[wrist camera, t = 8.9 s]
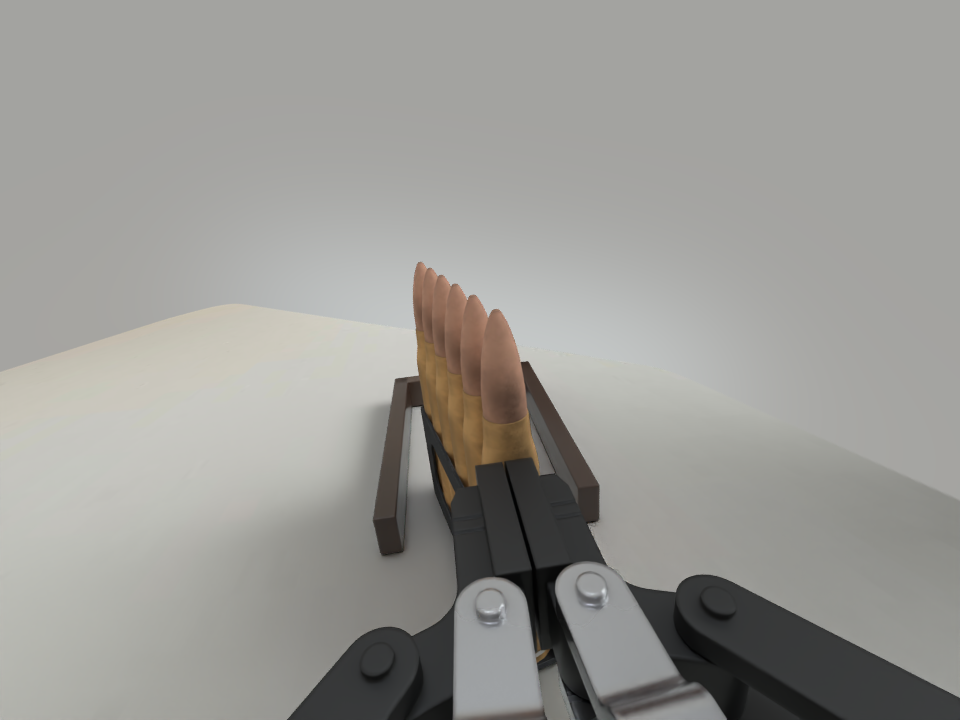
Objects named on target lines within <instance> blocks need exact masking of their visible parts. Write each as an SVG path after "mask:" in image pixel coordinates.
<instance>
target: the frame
mask: <svg viewBox="0 0 960 720" xmlns="http://www.w3.org/2000/svg"><path fill="white" fill-rule="evenodd" d="M521 367H522V372H523V377H524V383H525V390H526V401H527V409H528V411H529V413H530V416H531V418H532V420H533V422H534V425H535V427H536V429H537V431H538V433H539V436H540V438H541V440H542V442H543V445H544V447H545V449H546V451H547V453H548V456H549V458H550V460H551V462H552V465H553V467H554V469H555V471H556V473H557V476H558V477H560V478H561V479H562V480H563V481H564V482H566V483H567V484H568V485H569V487H570V489H571V491H572V493H573V495H574V498H575V501H576V502H577V504H578V506H579V508H580V510H581V514H582V515H583V517H584V519H585V521H586V522H590V521H596V520H599V484H598V482H597V480H596V479H595V477H594V475H593V473H592V472H591V470H590V468H589V466H588V465H587V463H586V461H585V460H584V458H583V456H582V454H581V453H580V451H579V449H578V447H577V446H576V444H575V442H574V440H573V439H572V437H571V435H570V433H569V432H568V430H567V428H566V426H565V425H564V423H563V421H562V419H561V418H560V416H559V414H558V412H557V411H556V409H555V407H554V405H553V404H552V402H551V400H550V399H549V397H548V395H547V393H546V392H545V390H544V388H543V386H542V385H541V383H540V381H539V379H538V378H537V376H536V374H535V372H534V371H533V369H532V367H531V365H530V364H529V362H528V361H526V362H521ZM419 405H424V402H423V396H422V390H421V384H420V378H419V376H413V377H405V378H398V379H395V383H394V390H393V396H392V402H391V409H390V415H389V421H388V428H387V434H386V440H385V447H384V453H383V459H382V466H381V472H380V478H379V485H378V491H377V497H376V504H375V510H374V516H373V523H374V527H375V531H376V536H377V540H378V544H379V548H380V553H381V554H389V553H395V552H401V551H403V543H404V527H405V511H406V495H407V479H408V463H409V447H410V431H411V416H412V406H419Z"/></svg>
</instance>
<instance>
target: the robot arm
mask: <svg viewBox="0 0 960 720" xmlns="http://www.w3.org/2000/svg"><path fill="white" fill-rule="evenodd" d="M475 473H476V481H477V485H476V486H469V487H462V488H458V489H457V491H456V493H455V495H454V497H453V499H452V501H451V513H452V525H453V538H454V550H455V562H456V574H457V596H456V599H455V602H454V604H453V606H452V608H451V609H450V610H449V612H448V613H447V614H446V615H445V616H444V617H443V618H442V619H441V620H440V621H439V622H437V623H436V624H434V625H433V626H431V627H429V628H427V629H425V630H423V631H421V632H419V633H417V634H416V635H414V636H411V635H410V634H409V633H407V632H406V631H404V630H402V629H400V628H395V627H382V628H378V629H374V630H372V631H370V632H367V633H366V634H364V635H363V636H361V637H360V638H358V639H357V640H356V641H355V642H354V643H353V644H352V645H351V646H350V647H349V648H348V649H347V651H346V652H345V653H344V654H343V655H342V656H341V658H340V659H339V660H338V661H337V662H336V663H335V665H334V666H333V667H332V668H331V669H330V670H329V672H328V673H327V674H326V675H325V676H324V677H323V679H322V680H321V681H320V682H319V683H318V684H317V686H316V687H315V688H314V689H313V690H312V691H311V693H310V694H309V695H308V696H307V697H306V698H305V700H304V701H303V702H302V703H301V704H300V705H299V707H298V708H297V709H296V710H295V711H294V712H293V714H292V715H291V716H290V717H289V718H288V719H287V720H547V717H546V716H545V712H544V707H543V700H542V694H541V688H540V681H539V675H538V669H537V662H536V656H535V652H537V638H536V632H537V636H538V640H539V644H540V648H541V651H542V650H548V649H553V650H554V654H555V658H556V661H557V665H558V673H559V687H560V691H561V694H562V697H563V700H564V703H565V705H566V708H567V711H568V714H569V717H570V720H960V698H959V697H957V696H955V695H953V694H951V693H949V692H947V691H945V690H943V689H941V688H939V687H937V686H935V685H933V684H931V683H929V682H927V681H925V680H923V679H921V678H919V677H917V676H916V675H914V674H912V673H910V672H908V671H906V670H904V669H902V668H900V667H898V666H896V665H894V664H892V663H890V662H888V661H886V660H884V659H882V658H880V657H878V656H876V655H874V654H872V653H870V652H868V651H866V650H864V649H862V648H860V647H859V646H857V645H855V644H853V643H851V642H849V641H847V640H845V639H843V638H841V637H839V636H837V635H835V634H833V633H831V632H829V631H827V630H825V629H823V628H821V627H819V626H817V625H815V624H813V623H811V622H809V621H807V620H805V619H803V618H802V617H800V616H798V615H796V614H794V613H792V612H790V611H788V610H786V609H784V608H782V607H780V606H778V605H776V604H774V603H772V602H770V601H768V600H766V599H764V598H762V597H760V596H758V595H756V594H754V593H752V592H750V591H748V590H746V589H745V588H743V587H741V586H739V585H737V584H735V583H733V582H731V581H728V580H726V579H724V578H721V577H717V576H713V575H695V576H691V577H689V578H686V579H685V580H683V581H682V582H681V583H680V584H679V586H678V588H677V591H676V593H675V592H667V591H659V590H651V589H645V588H640V587H637V586H634V585H632V584H629V583H627V582H625V581H624V580H623V578H622V577H621V576H620V575H619V574H618V573H617V572H616V571H614V570H613V569H612V568H610V567H608V566H607V564H606V563H605V561H604V559H603V557H602V555H601V553H600V550H599V548H598V546H597V544H596V542H595V540H594V538H593V536H592V534H591V531H590V529H589V527H588V525H587V523H586V521H585V519H584V517H583V515H582V514H581V510H580V508H579V506H578V504H577V502H576V501H575V498H574V495H573V493H572V491H571V489H570V487H569V485H568V484H567V483H566V482H564V481H563V480H562V479H561V478H560V477H558V476H557V475H556V474H555V473H554V474H548V475H541V476H539V474H538V471H537V469H536V466H535V464H534V461H533V459H532V457H529V458H522V459H515V460H509V461H504V466H503V463H502V462H496V463H489V464H482V465H476V466H475Z"/></svg>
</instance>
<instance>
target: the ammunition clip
mask: <svg viewBox="0 0 960 720" xmlns="http://www.w3.org/2000/svg"><path fill="white" fill-rule="evenodd" d="M413 304H414V305H413V306H414V317H415V323H416V336H417V345H418V348H417V365H418V372H419V378H420V384H421V390H422V396H423V402H424V406H422V407H421V413H422V419H423V425H424V431H425V437H426V443H427V449H428V455H429V461H430V467H431V473H432V479H433V484H434V490H435V493H436V496H437V498H438V501H439V503H440V506H441V508H442V511H443V513H444V516H445V518H446V520H447V523H448V525H449V528H450V530H451V533H452V535H453V525H452V513H451V501H452V499H453V497H454V495H455V493H456V491H457V489H458V488H462V487H469V486H476V485H477V481H476V473H475V466H476V465H482V464H489V463H496V462H502V463H503V466H504V461H509V460H515V459H522V458H529V457H532V459H533V461H534V464H535V466H536V469H537V471H538V474H539V476H540V472H539V462H538V456H537V452H536V448H535V445H534V442H533V438H532V435H531V428H530V420H529V412H528V409H527V401H526V390H525V383H524V377H523V372H522V367H521V362H520V357H519V353H518V350H517V346H516V343H515V340H514V338H513V335H512V332H511V329H510V327H509V325H508V323H507V321H506V319H505V317H504V316H503V314H502V313H501V311H500V310H498V309H494V310H492V312H491V313H490V316H489V318H488V317H487V313H486V311H485V309H484V307H483V305H482V304H481V302H480V300H479V299H478V297H477V296H476V295H470V296H469V298H468V300H467V299H466V296H465V294H464V293H463V291H462V289H461V288H460V286H459V285H458V284H453V285H452V286H450V284H449V282H448V281H447V280H446V278H445V277H444V276H443V275H439V276H437V275H436V273H435V272H434V270H433V269H432V268H428V269H427V268H426V267H425V265H424V264H423V263H422V262H418V264H417V267H416V270H415V275H414V285H413ZM536 638H537V652H535V656H536V662H537V669H538V670H540V669H542V668H544V667H547V666H549V665H551V664H553V663H556V662H557V661H556V658H555V654H554V650H553V649H548V650H542V651H541V648H540V644H539V640H538V636H537V632H536Z"/></svg>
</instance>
